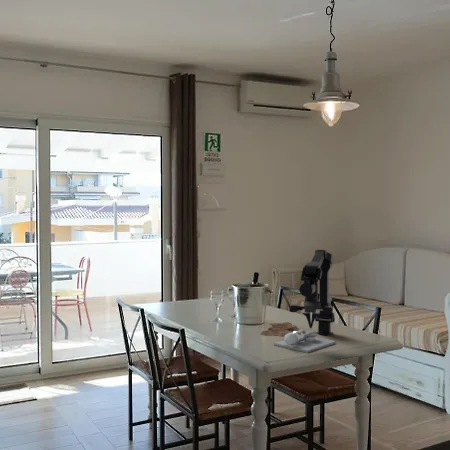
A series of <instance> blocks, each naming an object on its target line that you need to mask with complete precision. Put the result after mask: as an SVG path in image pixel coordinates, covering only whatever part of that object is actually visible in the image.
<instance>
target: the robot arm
mask: <svg viewBox="0 0 450 450" xmlns="http://www.w3.org/2000/svg"><path fill="white" fill-rule="evenodd" d="M333 264H334V256H333V254H332V253H330V252H328V251H327V250H325V249H315V251H314V254H313V256H312V259H311V260H310V261H309V262H306V263H305V264H304V266H303V267H302V271H301V277H300V281H302V282H303V283H302V284H301V285H300V286H299V290H298V291H299V293H300V294H301V296H304V302H303V305H300V303H291V304H290V306H289V313H297V312H299V311H302V315H304V316H305V318H306V320H307V323H308V326H309V329H312V328H313V325H314V322H318V325H317V327H318V328H317V331H316V332H317V335H323V336H330V335H333V334H334V332H333V331H331V329H332V325H331V324H332V323H335V320H336V319H335V313H334V311H333V309H334V307H333V306H332V304H331V302H330V300H329V299H330V298H329V297H330V296H329V294H330V291H329V289H330V284H329V283H330V282H329V281H330V278H329V277H330V276H329V275H330V270H331V269H332V267H333ZM311 313H312V314H311Z"/></svg>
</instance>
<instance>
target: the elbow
mask: <svg viewBox="0 0 450 450" xmlns="http://www.w3.org/2000/svg"><path fill="white" fill-rule="evenodd" d="M317 332H318V331H314V330H305V329H300V330H299V331H295V332H292V333H295V334H296V336H297V342H296V343H298V342H302V341H305V340H306V339H307V336H309V337H311V336H315V337H317V335H318V334H317Z"/></svg>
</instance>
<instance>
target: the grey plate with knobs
mask: <svg viewBox="0 0 450 450" xmlns="http://www.w3.org/2000/svg"><path fill="white" fill-rule="evenodd" d="M283 339H284V340H280V341H277V342H274V343H273V346H275V347H280V348H283V349H284V348H285V349H289V350H293V351H297V352H302V353H306V354H308V353H310V352H314V351H317V350H319V349H323V348H326V347H328V346H329V347H330V346H332V345H335V344H337V341H335V340H331V339H327V338H322V337H317V336H311V337H309V336H307V339H306V340H305V341H302V342H298V343H296V342H297V336H296V334H295V333H289V334H286V335H285V337H283Z"/></svg>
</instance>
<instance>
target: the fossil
mask: <svg viewBox="0 0 450 450" xmlns="http://www.w3.org/2000/svg"><path fill="white" fill-rule="evenodd" d="M269 325H270V326H271V327H269V328H268V329H267V330H262V331H261V332H260V335H262V336H267V337H270V336H272V337H280V338H281V337H283V338H284V337H285V335H286V334H289V333H292V332H295V331H299V330H301V329H300V328H299V327H298V326H297V325H296V324H292V322H282V323H279V322H278V323H275V322H274V323H269Z"/></svg>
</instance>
